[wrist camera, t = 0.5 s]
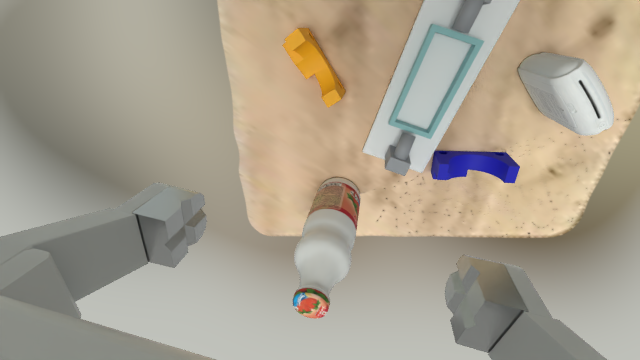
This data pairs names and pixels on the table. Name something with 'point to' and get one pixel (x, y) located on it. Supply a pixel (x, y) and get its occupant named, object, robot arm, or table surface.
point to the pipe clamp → (314, 64)
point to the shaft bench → (434, 78)
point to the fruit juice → (326, 245)
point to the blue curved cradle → (473, 164)
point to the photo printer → (567, 92)
